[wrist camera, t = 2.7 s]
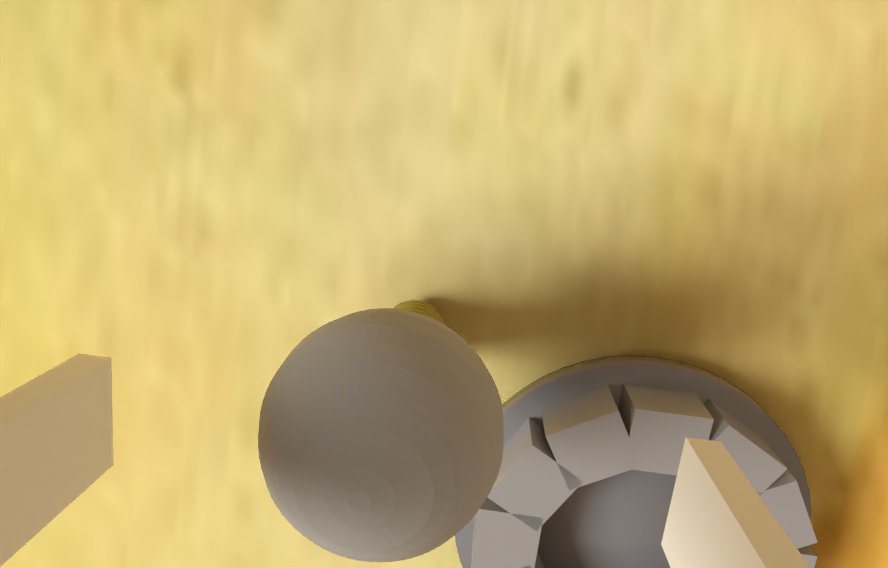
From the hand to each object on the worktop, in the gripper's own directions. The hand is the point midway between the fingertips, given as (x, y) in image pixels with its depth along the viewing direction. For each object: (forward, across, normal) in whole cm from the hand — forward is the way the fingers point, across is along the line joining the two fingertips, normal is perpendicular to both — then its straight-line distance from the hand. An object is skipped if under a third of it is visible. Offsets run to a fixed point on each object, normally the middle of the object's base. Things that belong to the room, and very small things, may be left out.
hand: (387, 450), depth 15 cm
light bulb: (+8, 0, +1) cm, 8 cm away
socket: (+8, +8, -5) cm, 12 cm away
